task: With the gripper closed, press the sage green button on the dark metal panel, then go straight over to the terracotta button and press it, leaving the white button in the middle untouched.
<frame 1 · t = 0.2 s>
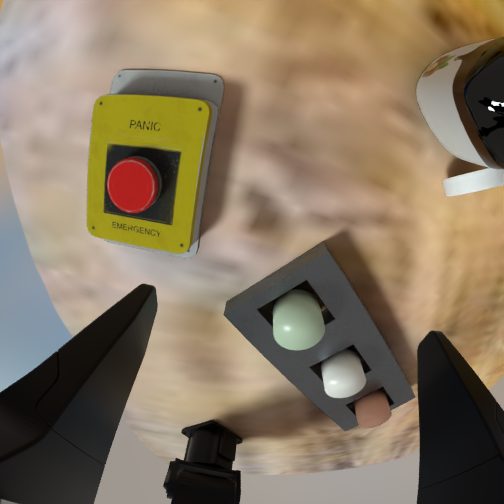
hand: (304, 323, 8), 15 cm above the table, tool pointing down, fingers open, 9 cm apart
spread jar: (456, 122, 19), on the table
button panel: (338, 355, 28), on the table
white button: (342, 374, 26), point 3 cm above the table, slide at 0.0 cm
terracotta button: (372, 409, 29), point 3 cm above the table, slide at 0.0 cm
sage button: (297, 320, 23), point 3 cm above the table, slide at 0.0 cm
emergency button: (155, 162, 22), on the table
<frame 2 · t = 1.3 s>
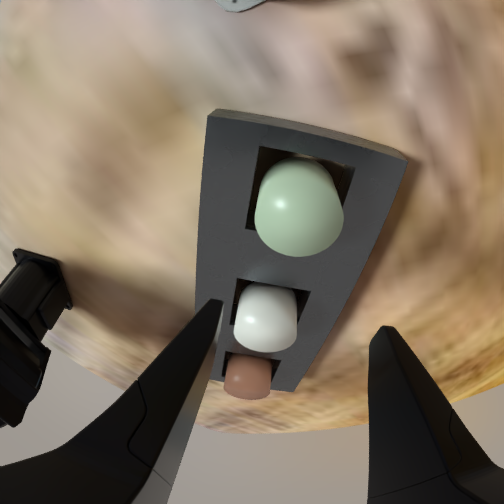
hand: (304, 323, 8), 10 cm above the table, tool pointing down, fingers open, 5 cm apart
button panel: (269, 289, 22), on the table
white button: (266, 317, 19), point 3 cm above the table, slide at 0.0 cm
terracotta button: (248, 375, 25), point 3 cm above the table, slide at 0.0 cm
sage button: (298, 205, 14), point 3 cm above the table, slide at 0.0 cm
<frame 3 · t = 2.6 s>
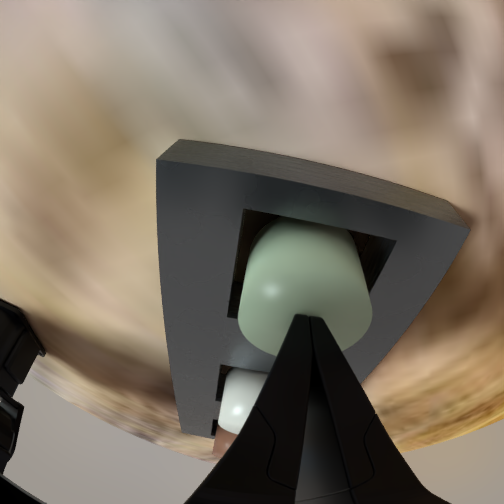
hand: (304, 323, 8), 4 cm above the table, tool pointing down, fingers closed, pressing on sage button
button panel: (263, 362, 17), on the table
white button: (259, 403, 14), point 3 cm above the table, slide at 0.0 cm
terracotta button: (240, 440, 20), point 3 cm above the table, slide at 0.0 cm
sage button: (304, 288, 10), point 2 cm above the table, slide at 0.5 cm, touching gripper
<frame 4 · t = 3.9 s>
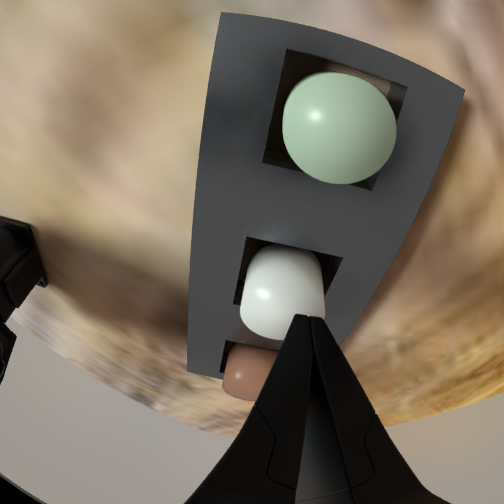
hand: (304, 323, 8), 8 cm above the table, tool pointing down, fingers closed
button panel: (285, 259, 17), on the table
white button: (283, 292, 15), point 3 cm above the table, slide at 0.0 cm
terracotta button: (253, 372, 20), point 3 cm above the table, slide at 0.0 cm
sage button: (335, 122, 10), point 2 cm above the table, slide at 0.7 cm
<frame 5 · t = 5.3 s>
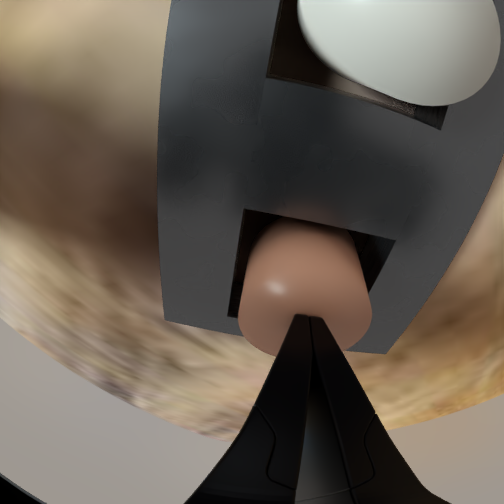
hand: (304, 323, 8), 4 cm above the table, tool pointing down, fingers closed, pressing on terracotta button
button panel: (361, 24, 6), on the table
white button: (390, 12, 4), point 3 cm above the table, slide at 0.0 cm
terracotta button: (304, 289, 10), point 2 cm above the table, slide at 0.4 cm, touching gripper
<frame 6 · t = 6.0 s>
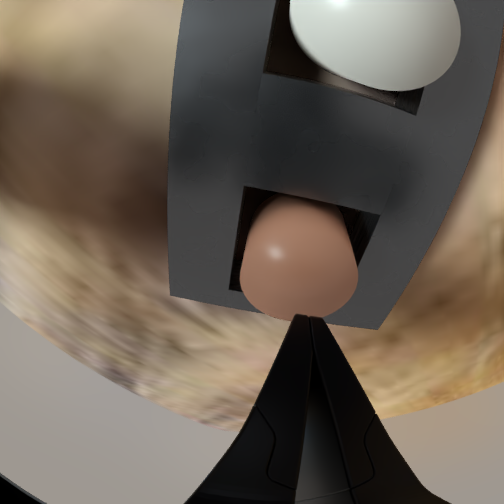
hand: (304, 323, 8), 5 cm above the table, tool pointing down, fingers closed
button panel: (346, 26, 7), on the table
white button: (367, 16, 5), point 3 cm above the table, slide at 0.0 cm
terracotta button: (298, 255, 11), point 2 cm above the table, slide at 0.7 cm
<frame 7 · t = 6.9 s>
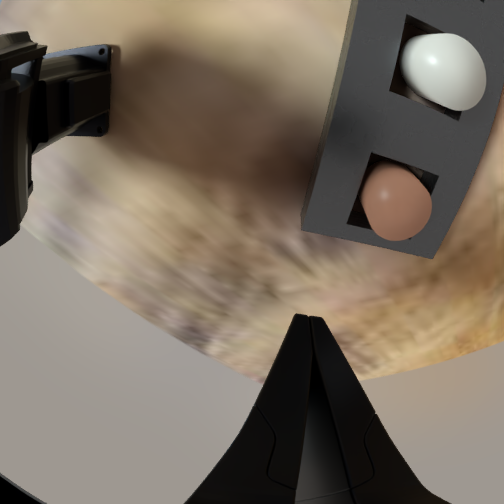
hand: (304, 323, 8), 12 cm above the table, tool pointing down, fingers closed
button panel: (422, 66, 13), on the table
white button: (442, 69, 10), point 3 cm above the table, slide at 0.0 cm
terracotta button: (393, 199, 16), point 2 cm above the table, slide at 0.7 cm
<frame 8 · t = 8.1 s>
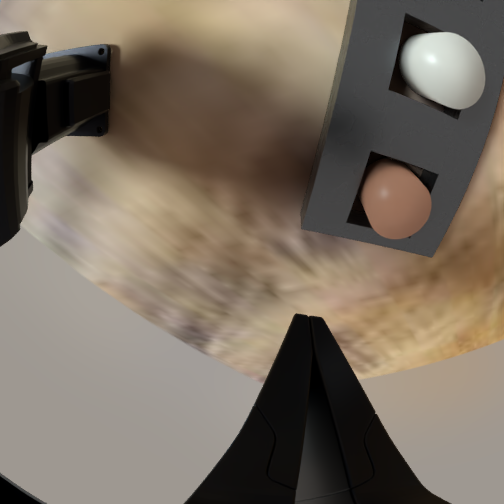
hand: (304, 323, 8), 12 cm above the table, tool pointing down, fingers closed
button panel: (421, 64, 13), on the table
white button: (441, 68, 10), point 3 cm above the table, slide at 0.0 cm
terracotta button: (393, 197, 16), point 2 cm above the table, slide at 0.7 cm
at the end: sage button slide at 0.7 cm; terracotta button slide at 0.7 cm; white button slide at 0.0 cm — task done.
